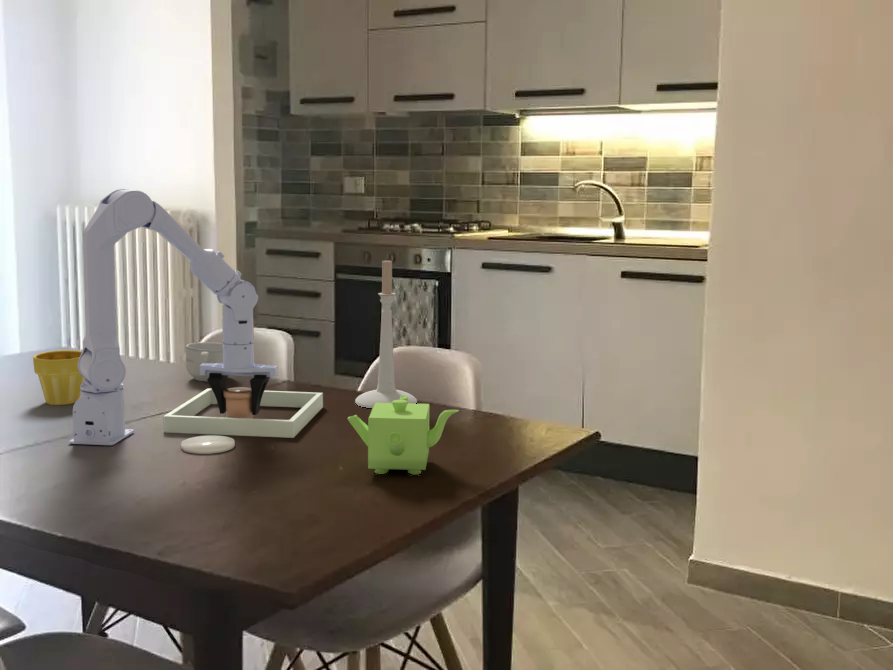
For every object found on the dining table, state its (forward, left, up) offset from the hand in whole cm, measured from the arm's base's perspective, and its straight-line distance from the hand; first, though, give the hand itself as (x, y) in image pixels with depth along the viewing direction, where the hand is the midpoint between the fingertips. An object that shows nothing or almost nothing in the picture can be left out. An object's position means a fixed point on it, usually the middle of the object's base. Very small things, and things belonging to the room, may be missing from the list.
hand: (239, 413), depth 190 cm
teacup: (+35, +18, -2) cm, 39 cm away
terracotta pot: (0, 0, -2) cm, 2 cm away
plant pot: (+10, +40, -2) cm, 41 cm away
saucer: (-18, 0, -2) cm, 18 cm away
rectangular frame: (+2, -1, -2) cm, 3 cm away
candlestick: (+20, -25, -2) cm, 32 cm away
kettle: (-25, -35, -2) cm, 43 cm away
